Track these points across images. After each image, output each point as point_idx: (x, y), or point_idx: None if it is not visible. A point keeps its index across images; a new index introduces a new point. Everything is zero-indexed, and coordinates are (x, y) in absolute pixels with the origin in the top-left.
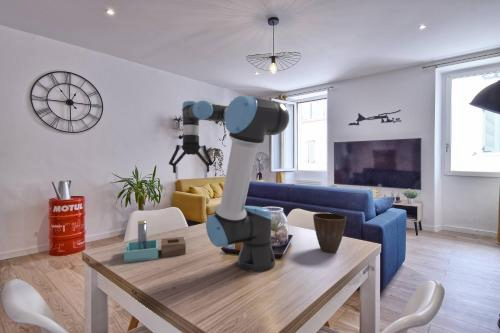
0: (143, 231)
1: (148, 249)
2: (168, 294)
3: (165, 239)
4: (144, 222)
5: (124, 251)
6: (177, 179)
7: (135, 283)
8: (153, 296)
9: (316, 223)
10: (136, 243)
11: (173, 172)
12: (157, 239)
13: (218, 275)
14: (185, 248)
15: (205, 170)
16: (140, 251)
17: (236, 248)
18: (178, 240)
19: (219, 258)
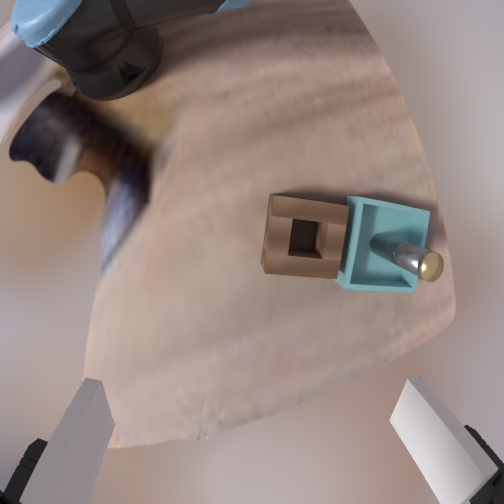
0: (413, 246)
1: (382, 201)
2: (340, 16)
3: (327, 267)
4: (428, 254)
5: (429, 215)
6: (414, 382)
7: (395, 85)
8: (364, 25)
9: None
10: (394, 285)
11: (470, 428)
12: (345, 288)
13: (227, 31)
14: (272, 195)
15: (60, 458)
16: (397, 204)
17: (109, 181)
18: (289, 242)
19: (184, 120)
